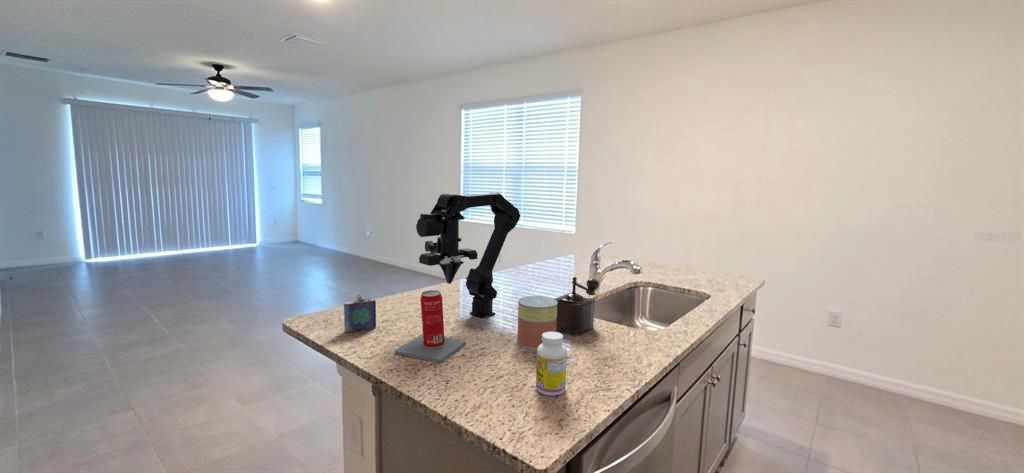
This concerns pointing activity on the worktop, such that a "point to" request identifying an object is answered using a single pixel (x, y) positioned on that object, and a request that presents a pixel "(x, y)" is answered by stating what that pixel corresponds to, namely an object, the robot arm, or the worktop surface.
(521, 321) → the canned food
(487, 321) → the worktop surface
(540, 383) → the supplement bottle
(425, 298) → the beverage can
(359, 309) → the flask
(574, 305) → the pepper mill
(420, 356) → the rubber mat
